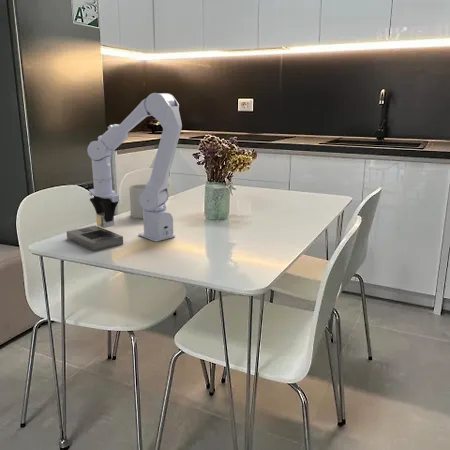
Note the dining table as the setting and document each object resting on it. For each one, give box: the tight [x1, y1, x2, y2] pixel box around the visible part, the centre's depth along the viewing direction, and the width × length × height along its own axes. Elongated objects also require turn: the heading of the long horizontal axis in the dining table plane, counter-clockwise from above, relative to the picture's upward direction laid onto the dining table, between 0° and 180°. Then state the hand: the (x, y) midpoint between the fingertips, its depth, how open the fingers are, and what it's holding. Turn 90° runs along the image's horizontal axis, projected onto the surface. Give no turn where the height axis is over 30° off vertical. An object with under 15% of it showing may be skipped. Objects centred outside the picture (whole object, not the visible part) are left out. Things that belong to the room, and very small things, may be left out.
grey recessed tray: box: [66, 224, 124, 252], centre depth 139 cm, size 16×10×2 cm, turn 45°
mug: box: [129, 184, 146, 219], centre depth 167 cm, size 12×8×11 cm
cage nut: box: [95, 212, 115, 229], centre depth 148 cm, size 4×5×4 cm
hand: (105, 220), depth 148 cm, fingers closed on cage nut, 4 cm apart
